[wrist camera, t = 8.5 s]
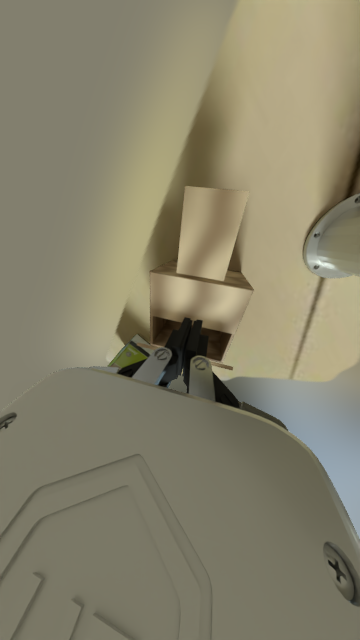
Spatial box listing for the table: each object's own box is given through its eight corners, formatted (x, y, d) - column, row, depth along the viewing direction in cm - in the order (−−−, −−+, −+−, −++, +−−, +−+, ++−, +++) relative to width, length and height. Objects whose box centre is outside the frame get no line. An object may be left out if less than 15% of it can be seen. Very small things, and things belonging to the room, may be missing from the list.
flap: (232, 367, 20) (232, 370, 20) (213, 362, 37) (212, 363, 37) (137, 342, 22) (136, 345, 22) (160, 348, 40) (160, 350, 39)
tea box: (124, 345, 51) (94, 379, 39) (137, 332, 46) (108, 367, 34) (153, 369, 54) (135, 407, 42) (169, 359, 49) (153, 399, 37)
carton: (241, 272, 29) (254, 289, 19) (221, 330, 38) (222, 363, 28) (171, 260, 32) (149, 271, 22) (167, 318, 40) (150, 344, 30)
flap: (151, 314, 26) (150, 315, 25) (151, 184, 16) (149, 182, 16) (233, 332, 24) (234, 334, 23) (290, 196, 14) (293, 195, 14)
